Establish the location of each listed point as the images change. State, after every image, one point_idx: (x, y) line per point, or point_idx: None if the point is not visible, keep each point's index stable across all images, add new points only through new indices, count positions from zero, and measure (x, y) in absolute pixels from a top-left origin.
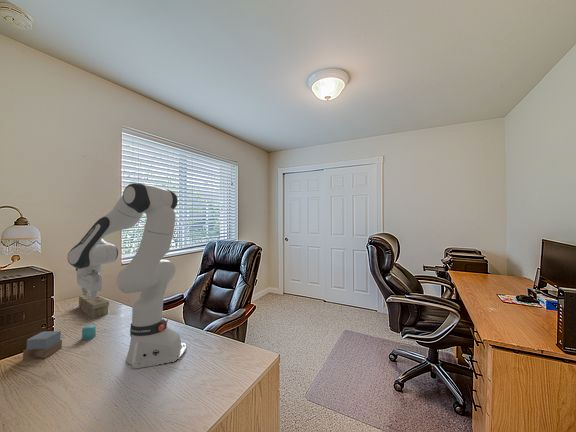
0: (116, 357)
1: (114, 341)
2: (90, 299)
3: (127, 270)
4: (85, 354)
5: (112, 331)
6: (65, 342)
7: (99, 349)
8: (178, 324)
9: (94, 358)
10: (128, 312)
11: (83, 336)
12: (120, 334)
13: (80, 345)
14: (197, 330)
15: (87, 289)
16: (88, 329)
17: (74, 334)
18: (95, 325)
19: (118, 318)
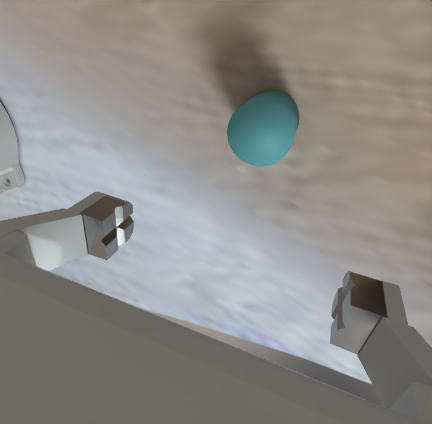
0: (9, 68)
1: (133, 142)
2: (97, 192)
3: None
4: (106, 15)
5: (234, 199)
6: (333, 24)
7: (109, 72)
8: None
9: (48, 18)
10: None
11: (261, 93)
12: (176, 191)
13: (215, 50)
14: None
15: (18, 264)
16: (232, 115)
17: (396, 108)
18: (249, 163)
19: None
